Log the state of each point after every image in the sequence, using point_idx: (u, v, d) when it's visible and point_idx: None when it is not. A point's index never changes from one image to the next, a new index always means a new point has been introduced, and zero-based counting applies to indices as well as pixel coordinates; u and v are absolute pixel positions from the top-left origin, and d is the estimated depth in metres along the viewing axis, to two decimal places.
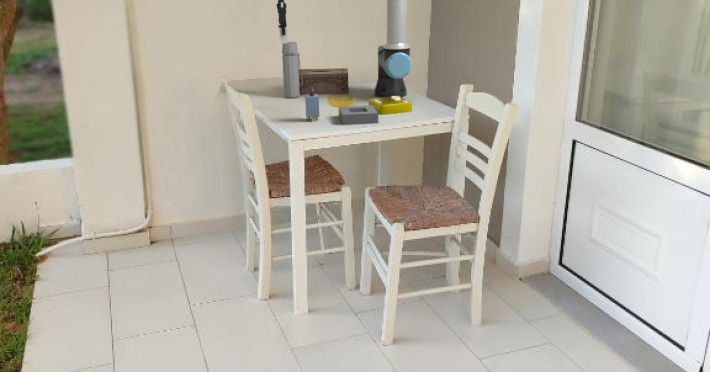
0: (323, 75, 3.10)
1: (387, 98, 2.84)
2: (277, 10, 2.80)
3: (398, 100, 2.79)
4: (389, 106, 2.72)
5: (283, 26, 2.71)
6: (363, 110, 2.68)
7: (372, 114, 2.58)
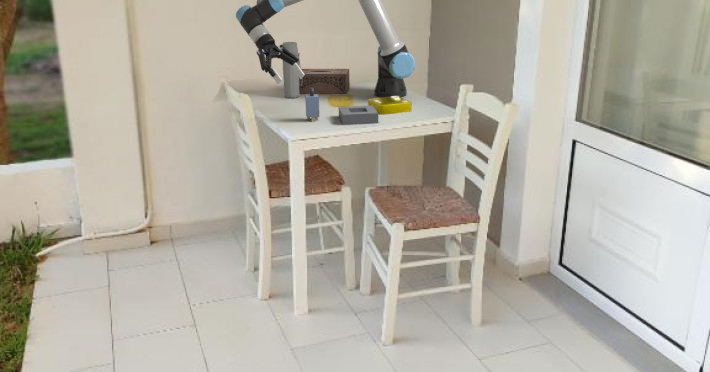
0: (321, 75, 3.10)
1: (387, 98, 2.84)
2: None
3: (398, 100, 2.80)
4: (389, 106, 2.72)
5: (265, 68, 2.60)
6: (363, 110, 2.68)
7: (372, 114, 2.58)
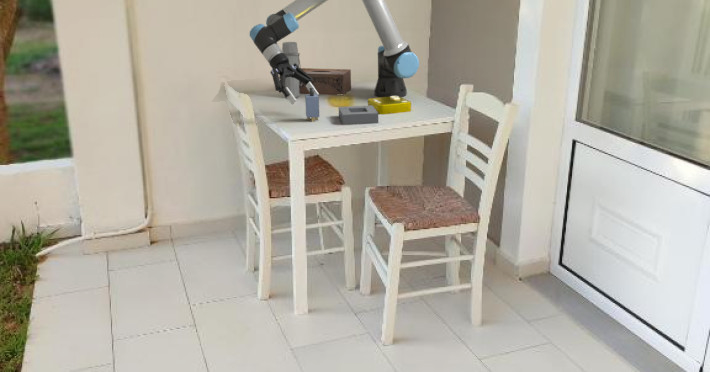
0: (319, 75, 3.10)
1: (386, 98, 2.84)
2: None
3: (397, 100, 2.80)
4: (389, 106, 2.73)
5: (279, 89, 2.58)
6: (363, 110, 2.68)
7: (372, 114, 2.58)
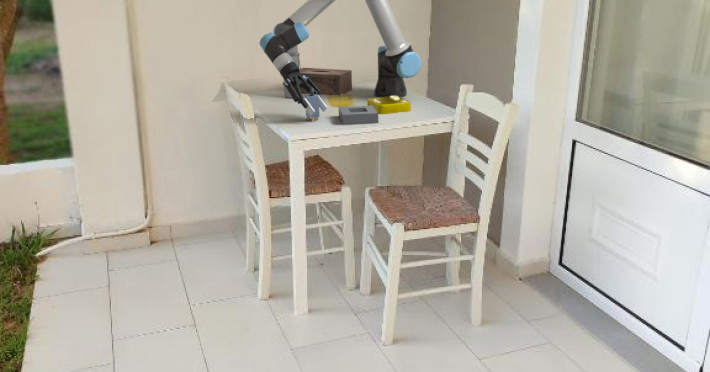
0: (316, 75, 3.10)
1: (386, 98, 2.84)
2: (301, 86, 2.67)
3: (397, 100, 2.80)
4: (388, 106, 2.73)
5: (298, 100, 2.59)
6: (363, 110, 2.68)
7: (372, 114, 2.58)
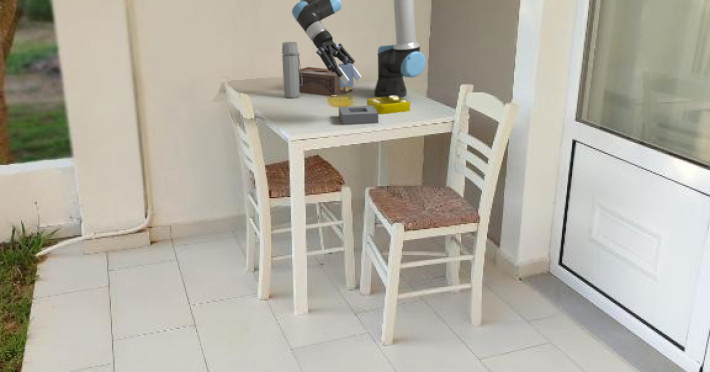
0: (314, 75, 3.10)
1: (385, 98, 2.85)
2: None
3: (396, 100, 2.80)
4: (388, 106, 2.73)
5: (332, 69, 2.54)
6: (363, 110, 2.68)
7: (372, 114, 2.58)
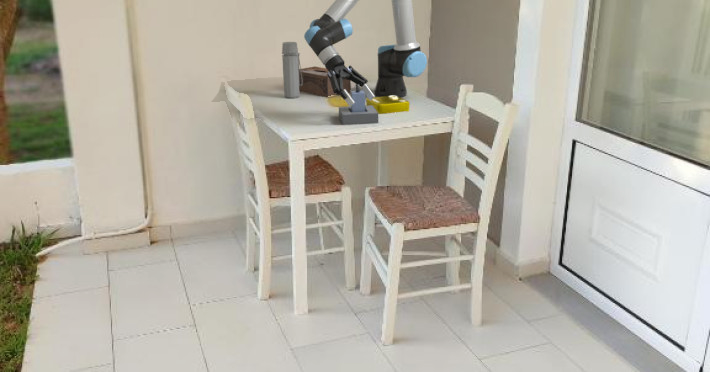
0: (311, 75, 3.11)
1: (384, 97, 2.85)
2: (346, 78, 2.67)
3: (395, 99, 2.81)
4: (387, 105, 2.74)
5: (337, 91, 2.55)
6: None
7: (372, 114, 2.58)
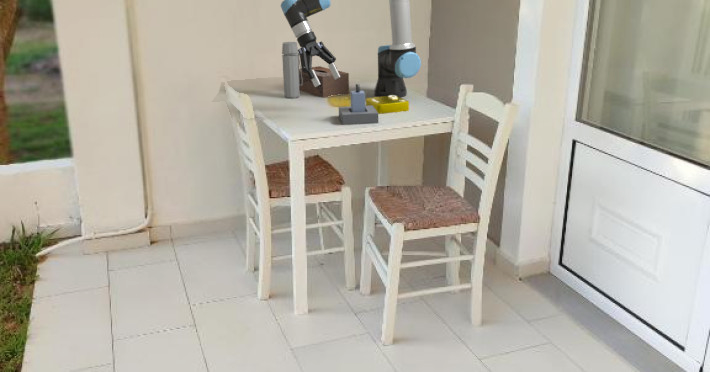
0: None
1: (384, 97, 2.85)
2: None
3: (395, 99, 2.81)
4: (387, 105, 2.74)
5: (306, 70, 2.62)
6: None
7: (372, 114, 2.58)
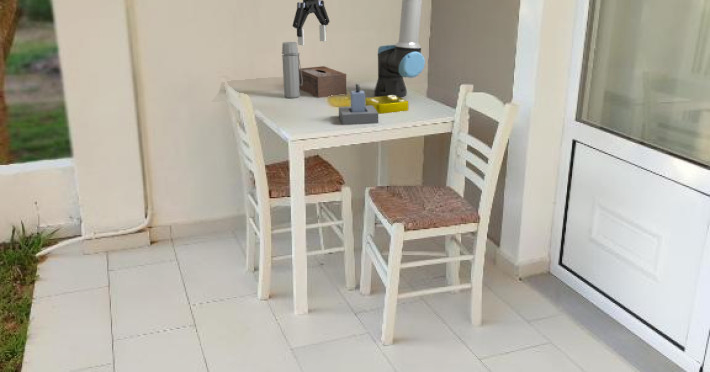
0: (308, 74, 3.13)
1: (383, 97, 2.85)
2: None
3: (395, 99, 2.81)
4: (386, 105, 2.74)
5: (296, 27, 2.60)
6: None
7: (372, 114, 2.58)
